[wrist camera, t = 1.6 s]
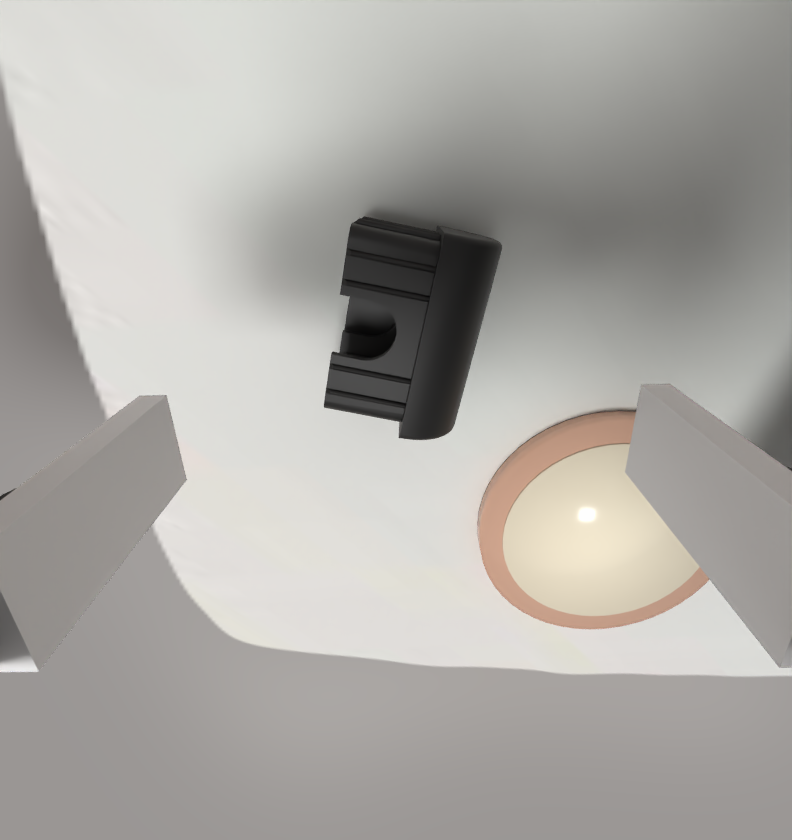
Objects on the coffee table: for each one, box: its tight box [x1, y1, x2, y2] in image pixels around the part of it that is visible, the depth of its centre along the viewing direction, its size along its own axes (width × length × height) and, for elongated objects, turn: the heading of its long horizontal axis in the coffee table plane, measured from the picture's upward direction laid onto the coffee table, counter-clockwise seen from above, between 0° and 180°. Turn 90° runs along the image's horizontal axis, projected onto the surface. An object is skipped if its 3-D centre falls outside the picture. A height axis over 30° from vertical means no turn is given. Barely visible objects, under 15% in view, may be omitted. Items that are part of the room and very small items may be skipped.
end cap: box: [324, 217, 502, 440], centre depth 26 cm, size 10×7×7 cm
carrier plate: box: [477, 411, 709, 629], centre depth 34 cm, size 17×17×2 cm
